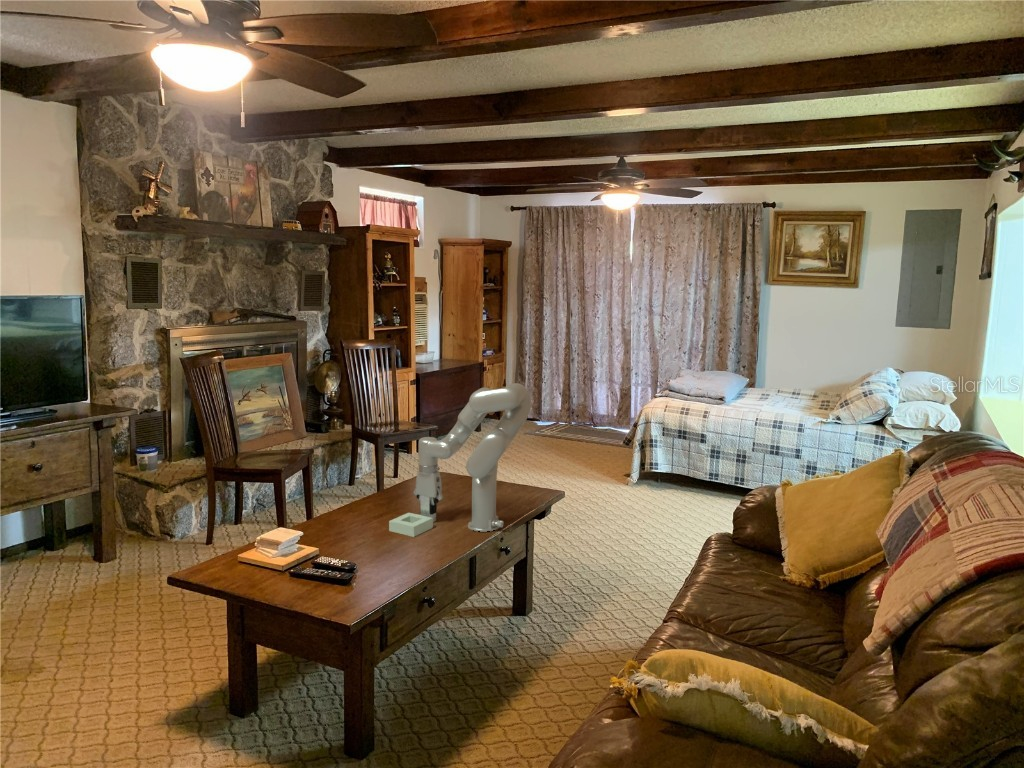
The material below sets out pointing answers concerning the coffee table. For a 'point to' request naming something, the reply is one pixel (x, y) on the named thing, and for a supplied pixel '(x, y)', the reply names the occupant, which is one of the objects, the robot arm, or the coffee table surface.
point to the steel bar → (426, 507)
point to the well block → (411, 524)
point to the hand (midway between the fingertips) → (428, 512)
